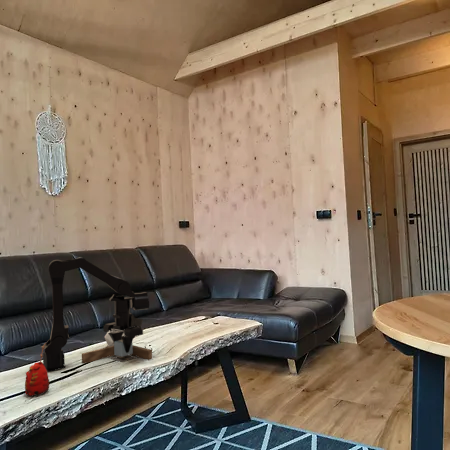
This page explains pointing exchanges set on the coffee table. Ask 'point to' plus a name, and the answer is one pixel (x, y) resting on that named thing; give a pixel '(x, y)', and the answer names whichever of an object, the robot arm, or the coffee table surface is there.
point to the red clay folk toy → (37, 379)
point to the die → (109, 339)
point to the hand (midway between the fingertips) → (123, 351)
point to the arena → (110, 352)
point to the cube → (121, 349)
